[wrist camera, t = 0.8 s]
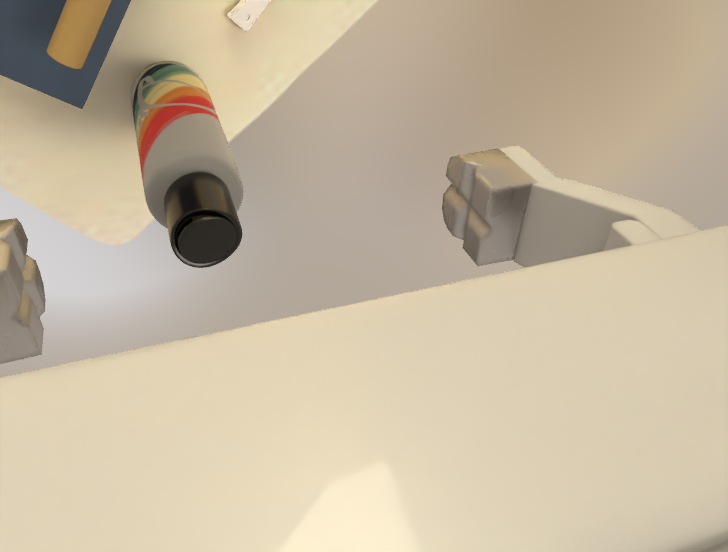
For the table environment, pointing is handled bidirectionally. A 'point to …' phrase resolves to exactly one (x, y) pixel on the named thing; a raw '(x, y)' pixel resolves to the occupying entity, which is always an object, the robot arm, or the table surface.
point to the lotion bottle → (186, 164)
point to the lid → (58, 43)
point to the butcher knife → (247, 12)
